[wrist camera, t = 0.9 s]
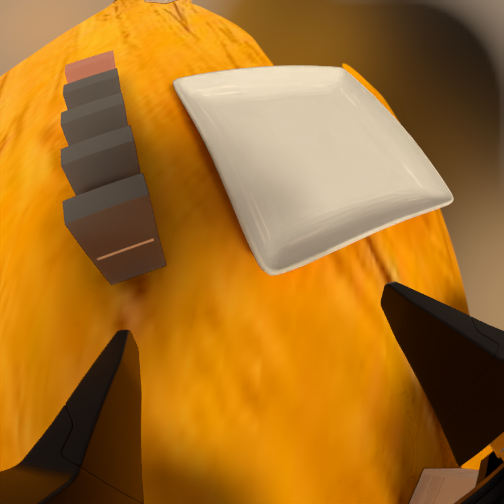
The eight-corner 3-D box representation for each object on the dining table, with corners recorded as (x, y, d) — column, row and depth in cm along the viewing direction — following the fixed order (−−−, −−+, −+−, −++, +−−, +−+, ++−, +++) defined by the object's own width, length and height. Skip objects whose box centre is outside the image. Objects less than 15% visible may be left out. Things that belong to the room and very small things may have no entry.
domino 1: (125, 128, 30) (114, 56, 21) (85, 142, 28) (64, 71, 19) (123, 121, 30) (112, 50, 21) (84, 133, 29) (65, 65, 20)
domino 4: (151, 221, 25) (134, 140, 16) (100, 239, 24) (61, 165, 15) (147, 207, 26) (130, 125, 17) (97, 224, 24) (60, 149, 15)
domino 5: (166, 265, 24) (149, 194, 15) (111, 285, 22) (64, 224, 13) (160, 248, 24) (142, 172, 15) (106, 267, 23) (62, 201, 14)
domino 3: (140, 184, 27) (124, 103, 18) (93, 200, 25) (60, 124, 16) (136, 172, 27) (121, 92, 18) (91, 188, 26) (61, 112, 17)
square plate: (335, 82, 42) (343, 64, 38) (441, 214, 33) (458, 199, 29) (170, 98, 34) (170, 74, 30) (257, 292, 25) (267, 276, 21)
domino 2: (132, 153, 28) (118, 76, 19) (88, 168, 27) (62, 94, 18) (129, 144, 29) (116, 68, 20) (87, 158, 27) (63, 85, 18)
